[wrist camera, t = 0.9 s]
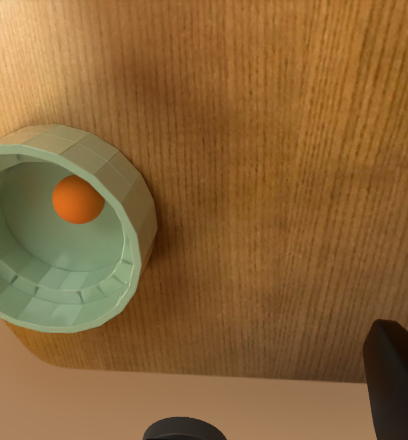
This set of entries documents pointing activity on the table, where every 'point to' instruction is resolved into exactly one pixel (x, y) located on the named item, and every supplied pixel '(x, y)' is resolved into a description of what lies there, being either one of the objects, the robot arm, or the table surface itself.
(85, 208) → the bead
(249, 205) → the table surface
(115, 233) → the bowl
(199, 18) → the table surface
